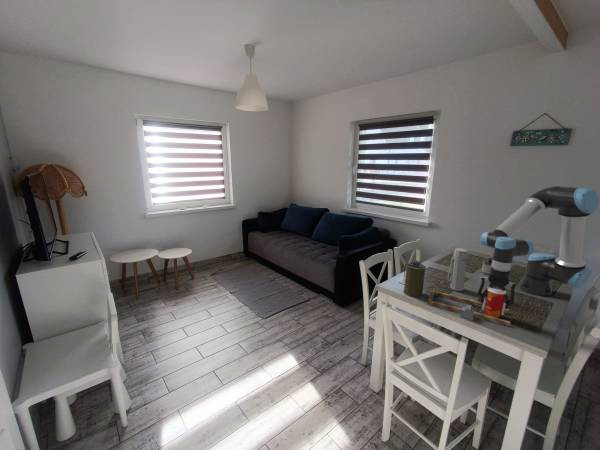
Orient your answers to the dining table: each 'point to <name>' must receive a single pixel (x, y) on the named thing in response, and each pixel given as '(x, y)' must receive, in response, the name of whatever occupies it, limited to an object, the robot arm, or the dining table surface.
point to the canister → (414, 278)
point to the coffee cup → (494, 301)
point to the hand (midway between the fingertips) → (492, 311)
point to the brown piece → (459, 310)
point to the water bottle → (458, 269)
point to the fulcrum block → (467, 312)
